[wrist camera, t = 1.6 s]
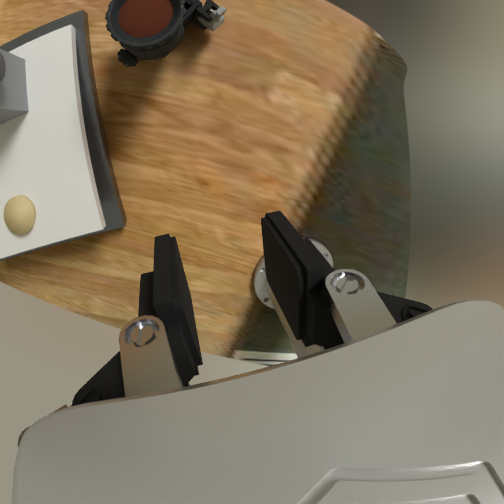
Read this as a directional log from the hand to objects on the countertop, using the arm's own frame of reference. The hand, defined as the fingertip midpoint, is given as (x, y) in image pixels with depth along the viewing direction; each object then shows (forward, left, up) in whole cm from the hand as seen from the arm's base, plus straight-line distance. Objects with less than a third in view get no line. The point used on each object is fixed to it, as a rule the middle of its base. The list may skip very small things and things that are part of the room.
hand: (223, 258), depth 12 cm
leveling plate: (+5, +19, -21) cm, 29 cm away
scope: (+13, +1, -25) cm, 29 cm away
